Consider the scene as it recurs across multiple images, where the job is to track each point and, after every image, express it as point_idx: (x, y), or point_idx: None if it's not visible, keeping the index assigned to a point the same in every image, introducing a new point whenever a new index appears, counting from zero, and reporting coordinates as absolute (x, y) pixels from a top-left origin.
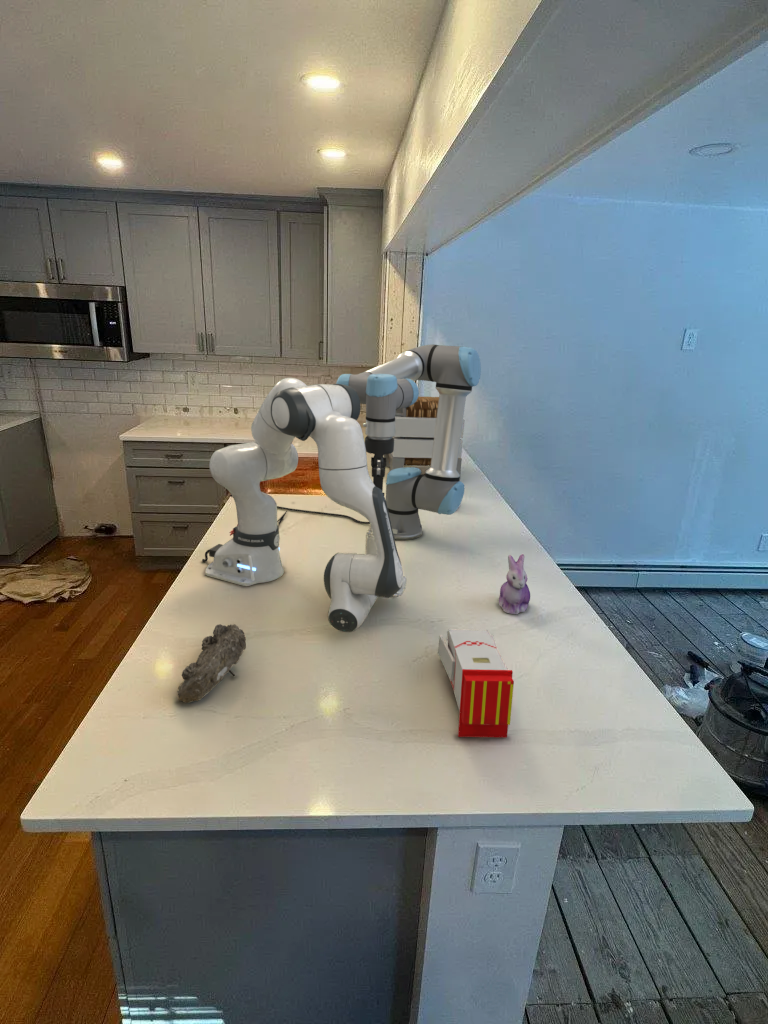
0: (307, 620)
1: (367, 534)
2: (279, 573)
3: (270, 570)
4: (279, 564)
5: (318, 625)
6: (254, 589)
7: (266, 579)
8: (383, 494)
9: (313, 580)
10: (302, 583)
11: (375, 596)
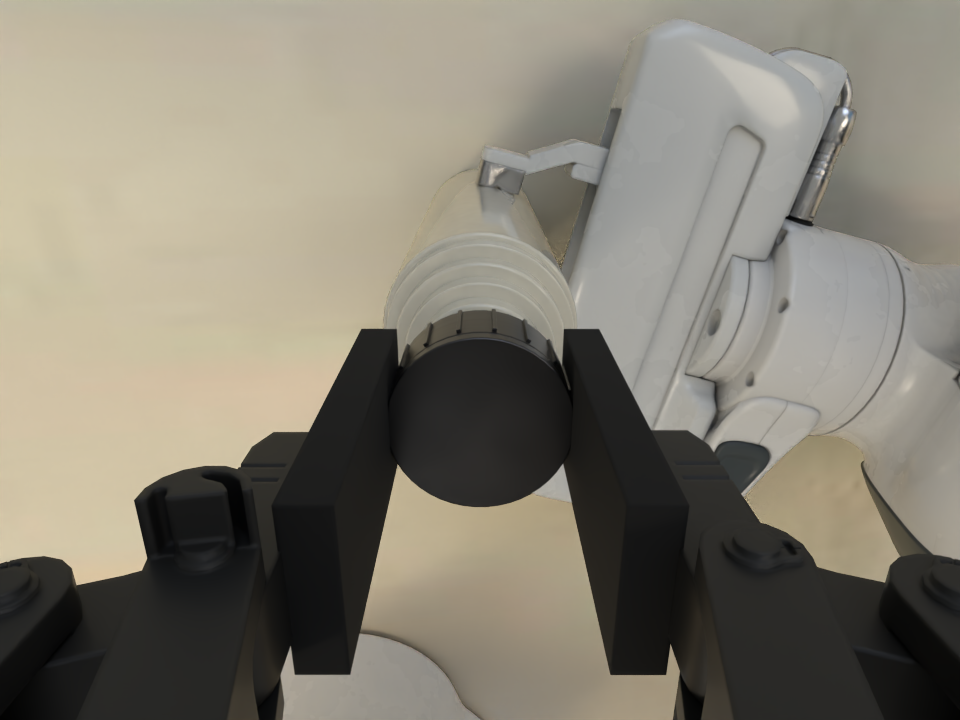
0: (769, 498)
1: None
2: (388, 653)
3: (421, 704)
4: (361, 684)
5: (815, 455)
6: (507, 701)
7: (444, 686)
8: (228, 508)
9: (401, 511)
10: (437, 550)
11: (866, 240)
